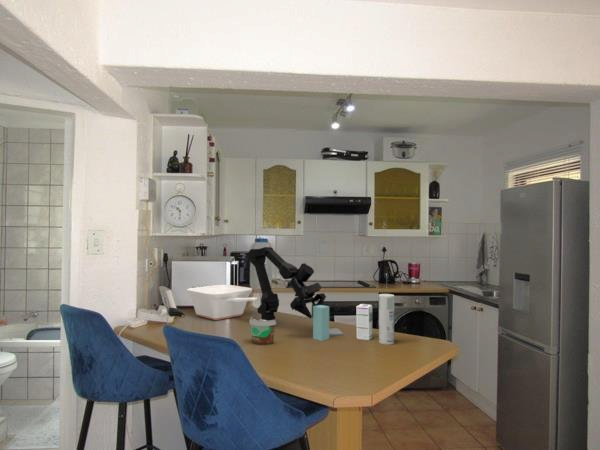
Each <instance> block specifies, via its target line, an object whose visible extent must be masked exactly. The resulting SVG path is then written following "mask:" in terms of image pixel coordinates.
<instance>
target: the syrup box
mask: <svg viewBox="0 0 600 450" xmlns="http://www.w3.org/2000/svg"><path fill="white" fill-rule="evenodd" d="M355 314H356V316H355V317H356V318H355V319H356V339H357V340H361V341H363V340H364V341H370V340H371V339H372V338H373V337H374V336H373V305H372V304H369V303H360V304H359V305H357V306H356V313H355Z"/></svg>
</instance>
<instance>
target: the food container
mask: <svg viewBox="0 0 600 450" xmlns="http://www.w3.org/2000/svg"><path fill="white" fill-rule="evenodd" d="M248 323H249V325H250V330H251V331H250V334H251V342H252V344H253V345H256V346H257V345H258V346H267V345H272V344H274V337H275V326H276V325H277V321H276V319H275V320H269V321H268V320H265V319H261V318H260V319H258V318H257V319H256V318H254V317H253V316H251V317H250V319H249V322H248Z"/></svg>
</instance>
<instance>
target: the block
mask: <svg viewBox="0 0 600 450" xmlns="http://www.w3.org/2000/svg"><path fill="white" fill-rule="evenodd" d="M312 319H313V320H312V339H314V340H316V341H321V342H322V341H326V340H329V339H330V336H329V329H330V306H328V305H325V304H324V305H318V306H315V305H313V306H312Z"/></svg>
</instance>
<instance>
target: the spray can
mask: <svg viewBox="0 0 600 450" xmlns="http://www.w3.org/2000/svg"><path fill="white" fill-rule="evenodd" d="M378 343H379V344H381V345H392V344H394V343H395V295H394V294H391V293H380V294H378Z"/></svg>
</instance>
